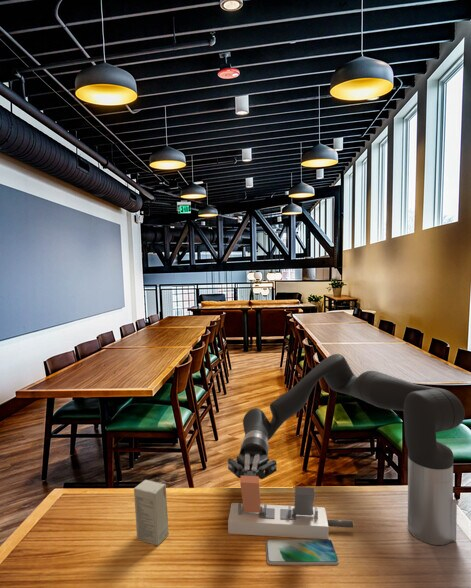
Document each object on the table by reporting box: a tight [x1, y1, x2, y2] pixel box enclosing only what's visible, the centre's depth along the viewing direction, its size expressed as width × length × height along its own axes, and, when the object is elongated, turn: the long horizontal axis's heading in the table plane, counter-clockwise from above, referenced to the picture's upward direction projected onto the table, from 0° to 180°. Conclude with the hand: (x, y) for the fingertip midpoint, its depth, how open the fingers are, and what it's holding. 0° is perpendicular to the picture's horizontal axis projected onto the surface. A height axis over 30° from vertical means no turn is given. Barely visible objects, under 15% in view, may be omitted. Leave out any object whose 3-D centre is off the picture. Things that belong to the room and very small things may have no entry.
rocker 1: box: [239, 476, 263, 513], centre depth 88 cm, size 5×2×14 cm
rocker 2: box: [293, 486, 316, 516], centre depth 86 cm, size 5×2×14 cm
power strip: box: [227, 502, 354, 539], centre depth 91 cm, size 29×7×5 cm, turn 84°
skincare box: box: [133, 479, 169, 546], centre depth 88 cm, size 6×4×12 cm
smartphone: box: [265, 538, 340, 566], centre depth 83 cm, size 7×1×15 cm
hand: (248, 483), depth 87 cm, fingers closed
